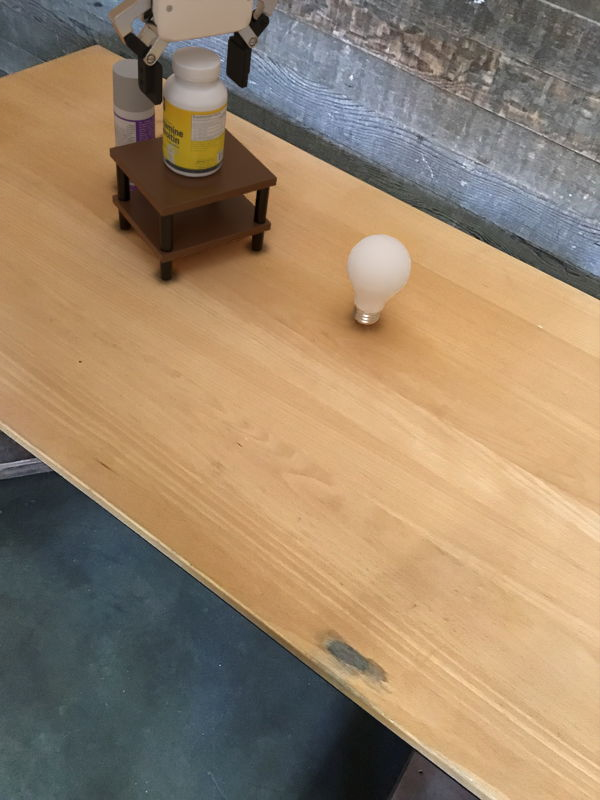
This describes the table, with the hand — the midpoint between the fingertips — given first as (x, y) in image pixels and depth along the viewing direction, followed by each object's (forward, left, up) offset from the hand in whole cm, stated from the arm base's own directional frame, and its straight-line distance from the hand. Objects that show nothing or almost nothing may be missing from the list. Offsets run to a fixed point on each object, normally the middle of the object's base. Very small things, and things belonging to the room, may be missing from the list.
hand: (195, 89), depth 76 cm
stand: (0, 0, -18) cm, 18 cm away
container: (-1, +12, -18) cm, 22 cm away
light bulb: (+10, -21, -18) cm, 30 cm away
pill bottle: (0, 0, -8) cm, 8 cm away
